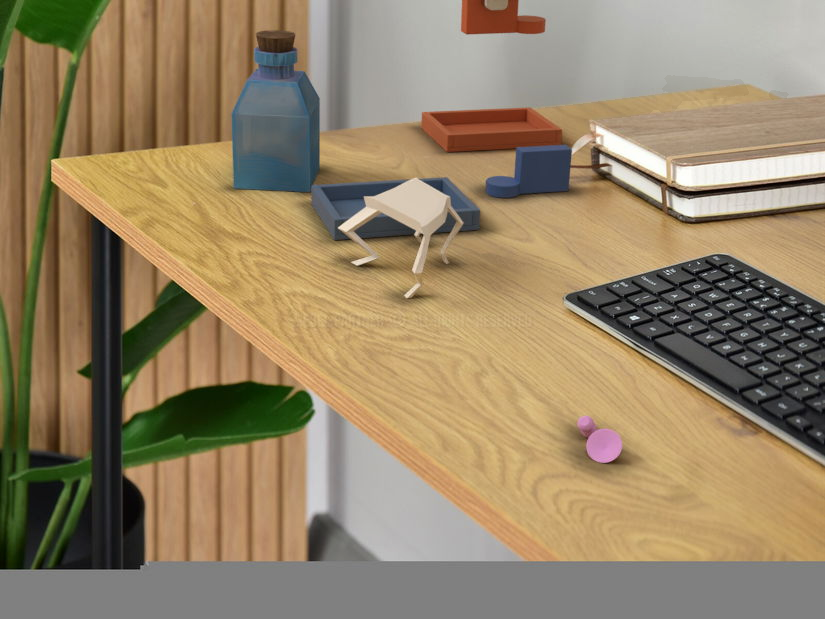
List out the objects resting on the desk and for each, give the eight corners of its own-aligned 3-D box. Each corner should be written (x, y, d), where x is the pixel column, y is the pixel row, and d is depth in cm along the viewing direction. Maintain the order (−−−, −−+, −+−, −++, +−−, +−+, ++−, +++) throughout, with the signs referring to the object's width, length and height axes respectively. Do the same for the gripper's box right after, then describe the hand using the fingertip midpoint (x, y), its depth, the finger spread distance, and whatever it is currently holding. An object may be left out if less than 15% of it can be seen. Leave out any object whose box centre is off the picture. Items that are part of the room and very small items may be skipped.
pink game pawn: (606, 479, 61) (634, 458, 62) (600, 469, 60) (629, 447, 60) (571, 437, 63) (599, 416, 63) (565, 426, 62) (593, 404, 62)
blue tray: (446, 195, 98) (447, 176, 97) (479, 230, 91) (480, 209, 90) (311, 204, 95) (311, 184, 94) (334, 240, 88) (334, 219, 87)
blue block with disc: (558, 183, 102) (562, 142, 100) (572, 193, 99) (575, 151, 98) (480, 188, 100) (483, 146, 98) (492, 198, 97) (494, 156, 96)
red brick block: (468, 36, 96) (470, -10, 95) (457, 29, 99) (459, -16, 97) (550, 33, 98) (553, -12, 97) (537, 26, 101) (540, -18, 99)
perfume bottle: (319, 169, 103) (319, 28, 98) (309, 192, 97) (308, 43, 93) (248, 165, 103) (244, 25, 99) (233, 188, 98) (229, 40, 93)
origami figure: (326, 246, 86) (326, 180, 84) (436, 236, 89) (439, 172, 87) (374, 312, 76) (376, 239, 74) (497, 299, 79) (502, 228, 77)
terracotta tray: (529, 123, 119) (530, 107, 119) (561, 146, 112) (562, 129, 111) (421, 128, 116) (421, 111, 116) (446, 152, 109) (447, 135, 108)
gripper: (590, -173, 83) (575, 29, 89) (490, -184, 101) (483, -16, 107) (505, -174, 82) (495, 32, 87) (419, -185, 99) (415, -14, 105)
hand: (488, 5), depth 97 cm, fingers closed on red brick block
